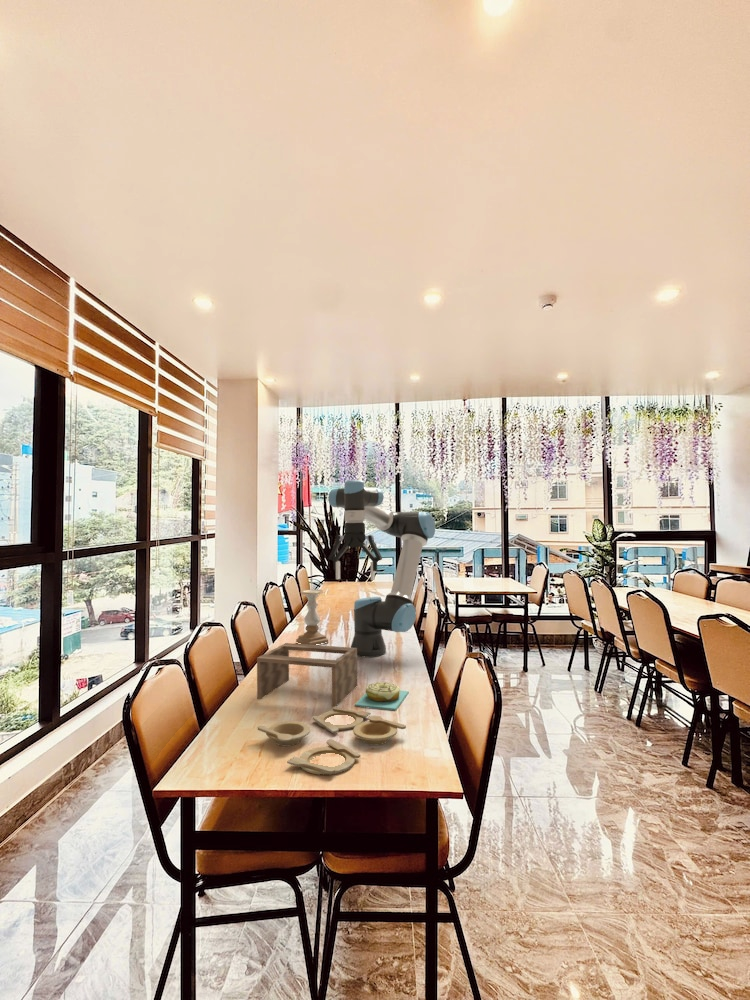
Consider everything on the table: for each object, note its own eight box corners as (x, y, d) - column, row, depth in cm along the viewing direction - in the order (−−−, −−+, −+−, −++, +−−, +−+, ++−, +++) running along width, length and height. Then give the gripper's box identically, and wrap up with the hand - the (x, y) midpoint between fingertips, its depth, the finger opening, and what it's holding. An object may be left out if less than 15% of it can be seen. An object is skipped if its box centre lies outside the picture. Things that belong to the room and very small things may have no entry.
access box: (285, 679, 186) (285, 643, 187) (357, 686, 178) (356, 647, 179) (257, 698, 167) (257, 657, 168) (335, 706, 159) (335, 663, 160)
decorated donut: (393, 705, 159) (393, 692, 159) (361, 701, 162) (360, 688, 162) (403, 693, 168) (403, 681, 169) (372, 690, 172) (372, 678, 172)
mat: (370, 689, 175) (370, 687, 175) (408, 693, 171) (408, 691, 171) (354, 706, 160) (354, 704, 160) (396, 710, 156) (395, 708, 156)
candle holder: (295, 643, 240) (295, 591, 241) (314, 639, 248) (314, 588, 248) (309, 647, 232) (309, 593, 233) (329, 643, 240) (328, 590, 240)
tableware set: (319, 787, 113) (318, 768, 113) (243, 747, 133) (243, 731, 133) (419, 736, 139) (419, 720, 139) (343, 709, 159) (343, 695, 159)
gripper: (319, 522, 194) (320, 579, 193) (384, 522, 187) (384, 581, 186) (327, 522, 201) (327, 577, 200) (389, 521, 194) (390, 579, 193)
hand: (355, 579), depth 193 cm, fingers open, 13 cm apart
